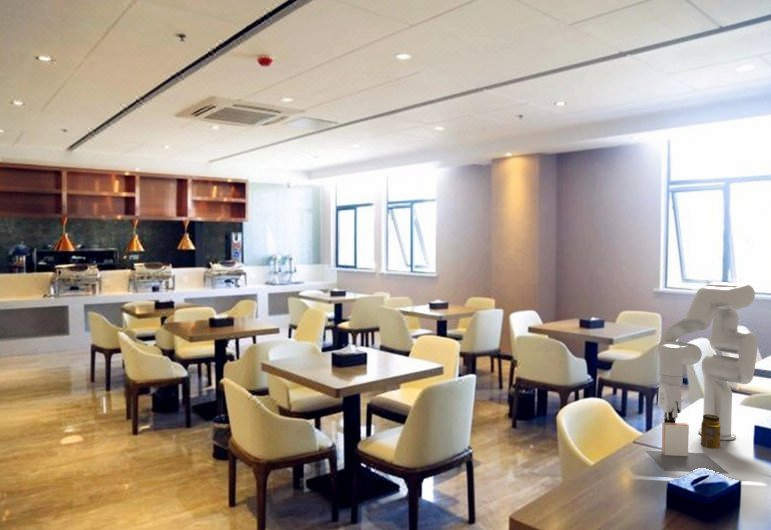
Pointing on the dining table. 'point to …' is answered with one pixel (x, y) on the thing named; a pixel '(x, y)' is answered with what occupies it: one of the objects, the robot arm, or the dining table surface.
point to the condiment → (710, 431)
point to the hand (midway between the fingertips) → (669, 429)
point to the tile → (675, 439)
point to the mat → (685, 462)
